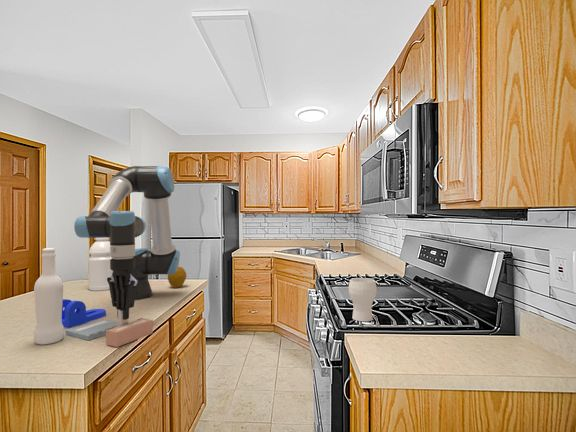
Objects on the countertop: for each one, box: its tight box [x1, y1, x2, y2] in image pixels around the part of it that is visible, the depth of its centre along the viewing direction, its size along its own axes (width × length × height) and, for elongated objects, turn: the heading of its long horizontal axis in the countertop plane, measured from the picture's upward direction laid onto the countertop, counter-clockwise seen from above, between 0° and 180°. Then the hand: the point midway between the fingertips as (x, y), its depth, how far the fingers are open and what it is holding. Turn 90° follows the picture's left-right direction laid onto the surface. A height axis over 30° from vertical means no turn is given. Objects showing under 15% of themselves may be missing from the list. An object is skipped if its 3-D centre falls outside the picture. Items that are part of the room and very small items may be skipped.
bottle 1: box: [33, 247, 65, 346], centre depth 116 cm, size 8×8×30 cm
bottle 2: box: [87, 237, 113, 292], centre depth 195 cm, size 14×14×28 cm
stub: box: [105, 317, 154, 348], centre depth 118 cm, size 14×5×5 cm, turn 153°
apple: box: [167, 266, 187, 289], centre depth 198 cm, size 10×10×12 cm
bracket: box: [62, 298, 107, 329], centre depth 139 cm, size 18×8×9 cm, turn 158°
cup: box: [348, 277, 378, 322], centre depth 140 cm, size 11×11×15 cm
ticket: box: [65, 319, 118, 341], centre depth 126 cm, size 14×12×2 cm
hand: (123, 328), depth 119 cm, fingers closed
